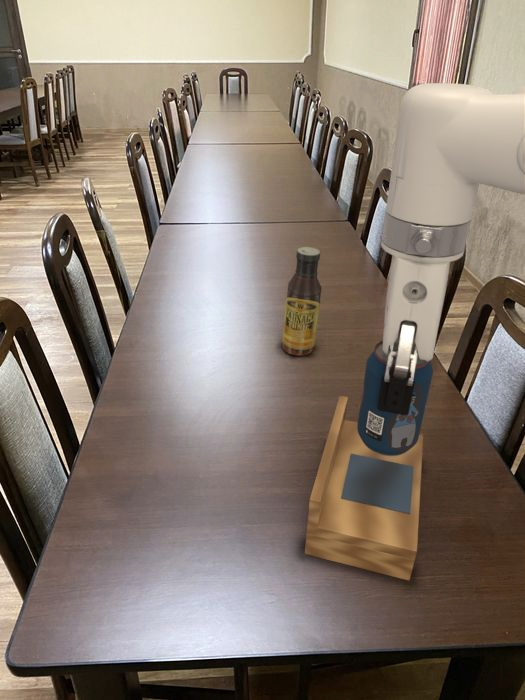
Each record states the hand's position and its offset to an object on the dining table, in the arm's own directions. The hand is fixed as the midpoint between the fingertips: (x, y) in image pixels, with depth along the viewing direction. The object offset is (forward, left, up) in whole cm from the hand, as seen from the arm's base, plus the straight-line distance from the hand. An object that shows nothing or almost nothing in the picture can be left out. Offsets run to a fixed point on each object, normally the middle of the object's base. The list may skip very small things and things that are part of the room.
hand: (395, 389), depth 59 cm
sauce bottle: (+18, -36, -19) cm, 45 cm away
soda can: (0, 0, -7) cm, 7 cm away
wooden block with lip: (+1, -1, -19) cm, 19 cm away
